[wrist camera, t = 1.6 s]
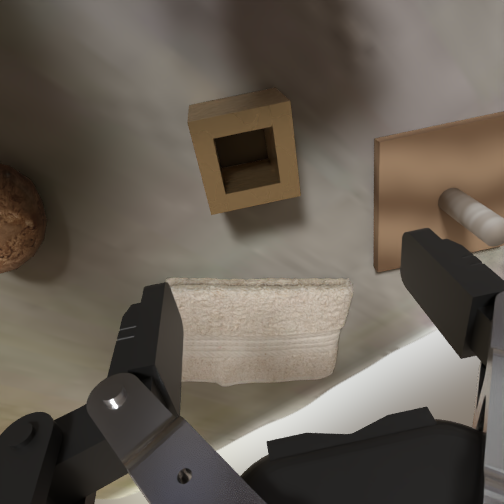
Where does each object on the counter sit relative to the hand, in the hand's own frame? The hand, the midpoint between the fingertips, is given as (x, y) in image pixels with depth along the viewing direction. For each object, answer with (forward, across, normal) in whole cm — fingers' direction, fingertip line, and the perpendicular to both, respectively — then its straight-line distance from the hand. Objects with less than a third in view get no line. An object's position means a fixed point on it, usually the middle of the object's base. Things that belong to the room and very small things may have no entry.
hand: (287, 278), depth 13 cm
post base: (+17, -16, +8) cm, 25 cm away
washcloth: (+18, +2, +18) cm, 25 cm away
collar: (+17, 0, 0) cm, 17 cm away
